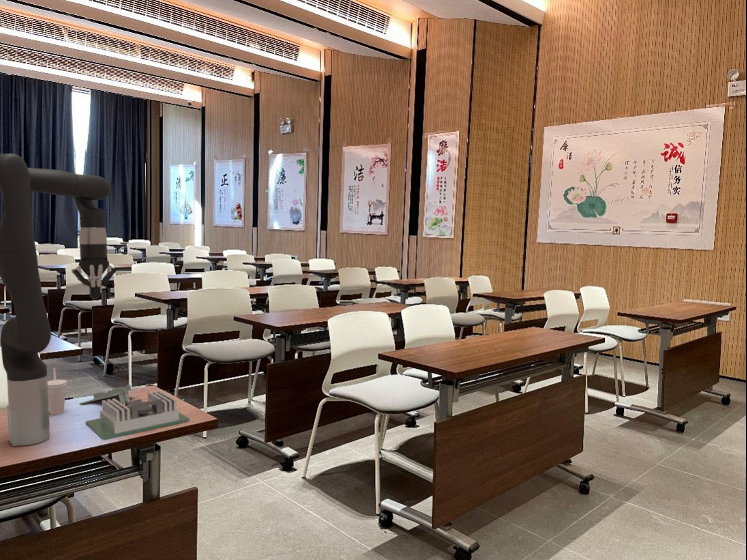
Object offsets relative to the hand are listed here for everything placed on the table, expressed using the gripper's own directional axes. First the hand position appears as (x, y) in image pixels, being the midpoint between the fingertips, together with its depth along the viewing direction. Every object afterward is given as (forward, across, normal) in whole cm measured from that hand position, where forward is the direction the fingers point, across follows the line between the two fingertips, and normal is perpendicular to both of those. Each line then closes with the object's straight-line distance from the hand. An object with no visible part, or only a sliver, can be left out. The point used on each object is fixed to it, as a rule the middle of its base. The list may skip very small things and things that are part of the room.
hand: (95, 298), depth 182 cm
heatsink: (+35, +5, -20) cm, 41 cm away
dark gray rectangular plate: (+30, +5, -16) cm, 34 cm away
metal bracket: (+36, +6, +8) cm, 37 cm away
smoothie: (+35, -11, +5) cm, 37 cm away
